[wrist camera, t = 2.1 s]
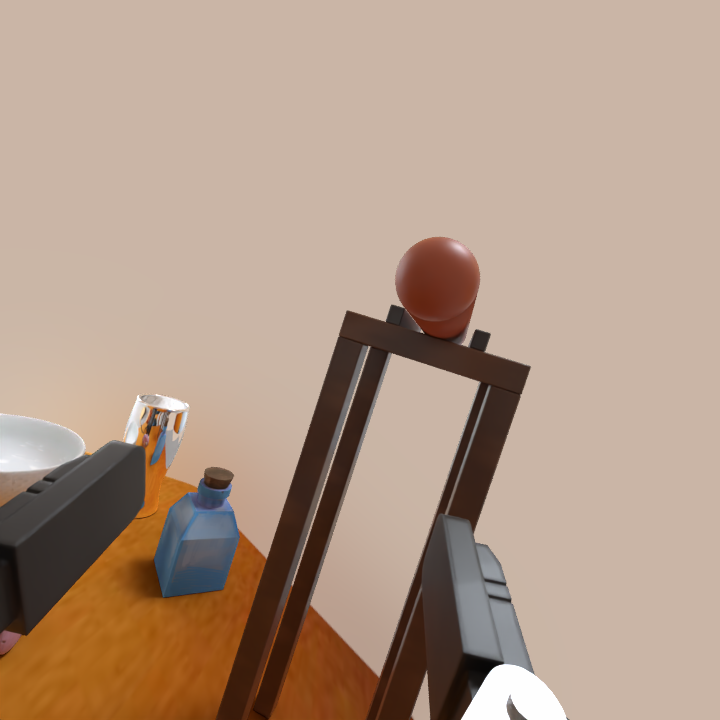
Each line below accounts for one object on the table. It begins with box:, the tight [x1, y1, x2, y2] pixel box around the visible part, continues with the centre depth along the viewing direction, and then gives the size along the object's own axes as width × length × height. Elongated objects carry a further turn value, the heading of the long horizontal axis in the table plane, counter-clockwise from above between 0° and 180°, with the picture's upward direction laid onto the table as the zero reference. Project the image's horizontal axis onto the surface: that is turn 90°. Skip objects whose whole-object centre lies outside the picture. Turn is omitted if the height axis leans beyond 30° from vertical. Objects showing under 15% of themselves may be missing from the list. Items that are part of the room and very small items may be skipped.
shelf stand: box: [216, 305, 530, 720], centre depth 26 cm, size 10×10×33 cm
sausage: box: [395, 237, 480, 345], centre depth 23 cm, size 21×3×3 cm, turn 165°
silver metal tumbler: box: [123, 394, 190, 518], centre depth 53 cm, size 7×7×15 cm
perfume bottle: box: [154, 467, 240, 598], centre depth 44 cm, size 6×6×12 cm
